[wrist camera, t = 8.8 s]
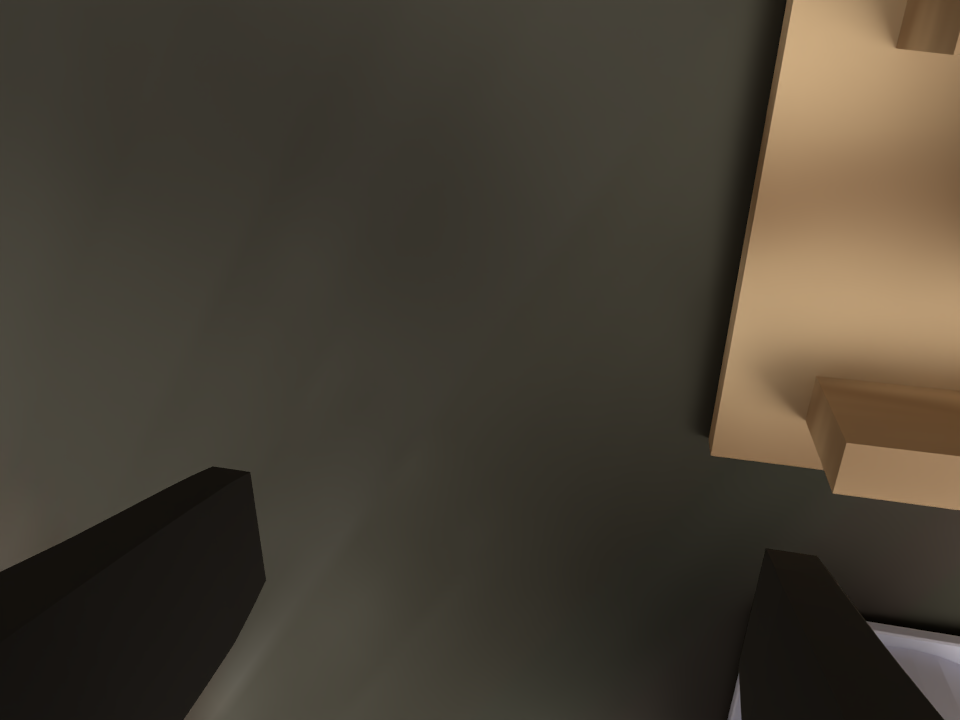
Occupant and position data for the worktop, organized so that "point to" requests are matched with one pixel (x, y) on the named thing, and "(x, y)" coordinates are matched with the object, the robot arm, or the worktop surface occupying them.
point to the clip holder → (854, 257)
